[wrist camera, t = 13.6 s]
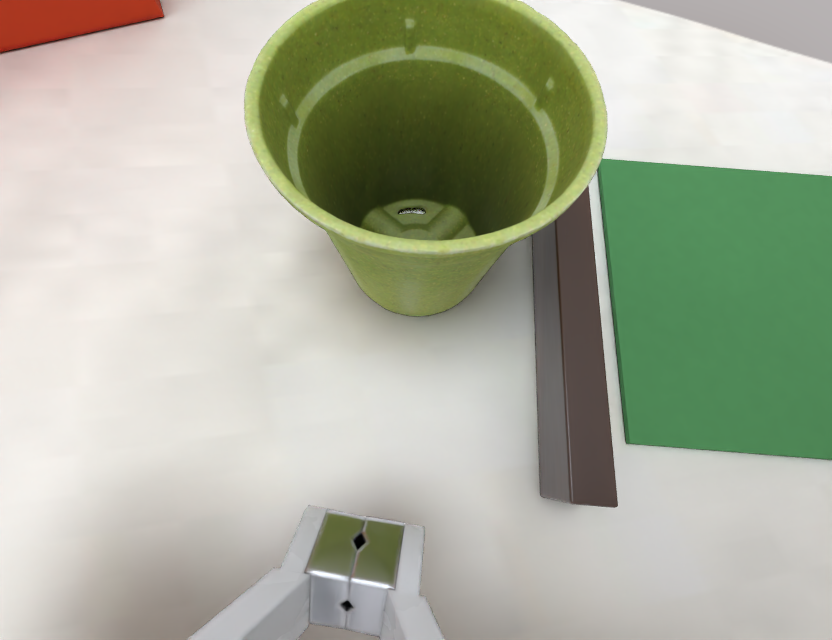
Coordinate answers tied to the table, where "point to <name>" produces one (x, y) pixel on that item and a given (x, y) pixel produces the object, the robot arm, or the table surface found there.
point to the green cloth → (721, 306)
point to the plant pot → (425, 135)
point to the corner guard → (571, 364)
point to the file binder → (67, 18)
